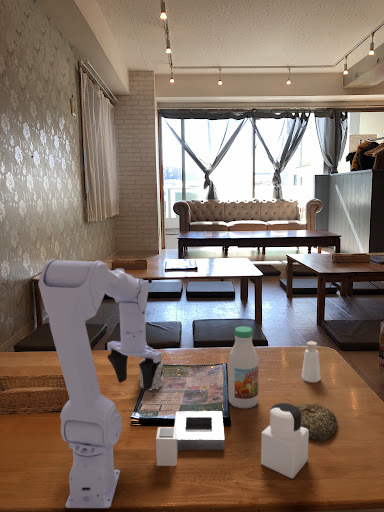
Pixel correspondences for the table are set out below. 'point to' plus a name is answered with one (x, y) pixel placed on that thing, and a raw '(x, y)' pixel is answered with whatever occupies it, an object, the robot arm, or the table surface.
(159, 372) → the mug
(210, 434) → the socket
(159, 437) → the plug
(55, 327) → the robot arm
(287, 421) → the medicine bottle
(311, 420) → the bread roll
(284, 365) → the table surface
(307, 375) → the salt shaker
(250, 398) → the milk bottle
